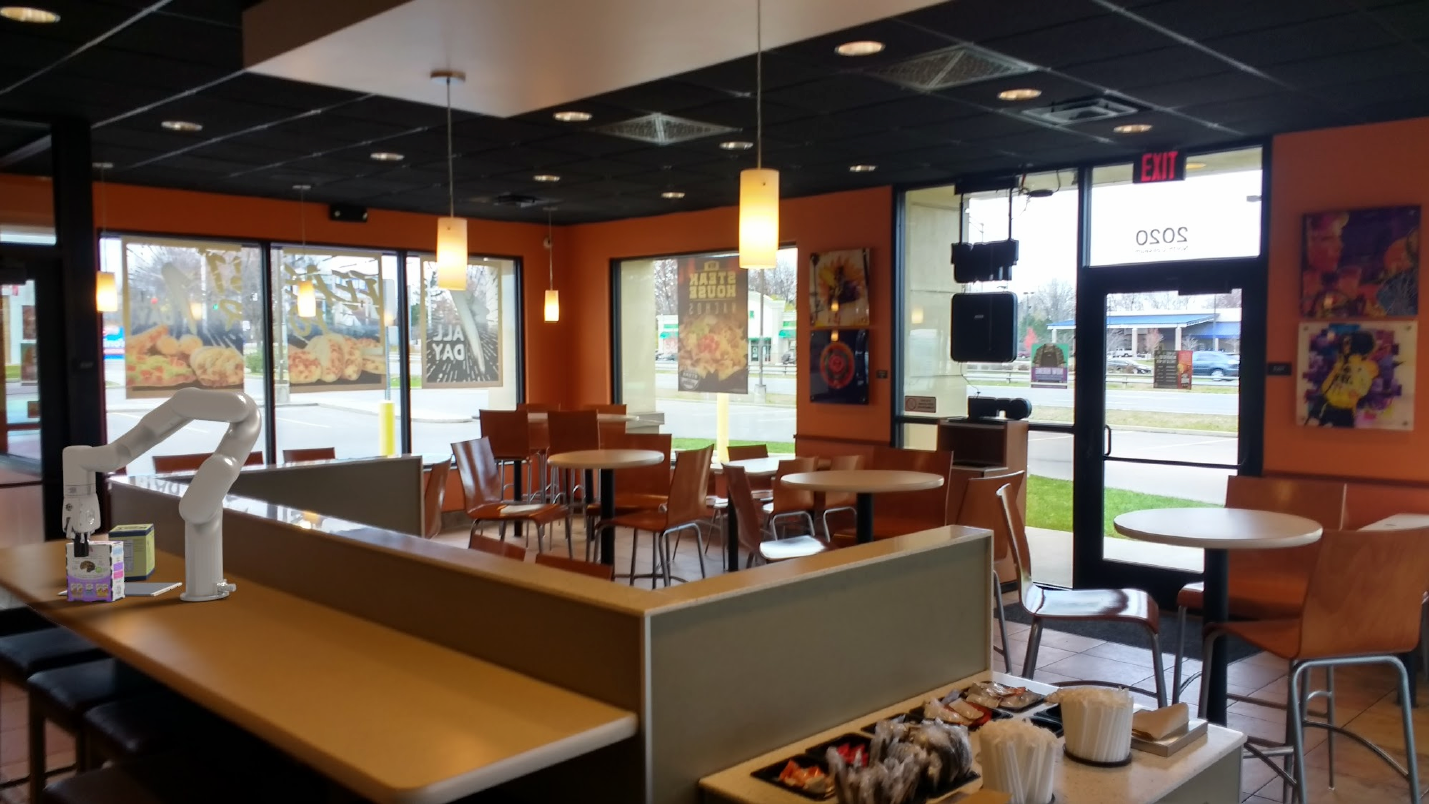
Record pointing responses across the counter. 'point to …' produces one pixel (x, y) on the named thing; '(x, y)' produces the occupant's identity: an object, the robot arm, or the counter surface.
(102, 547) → the candy box
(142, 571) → the protein box
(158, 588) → the gray flat board
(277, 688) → the counter surface
